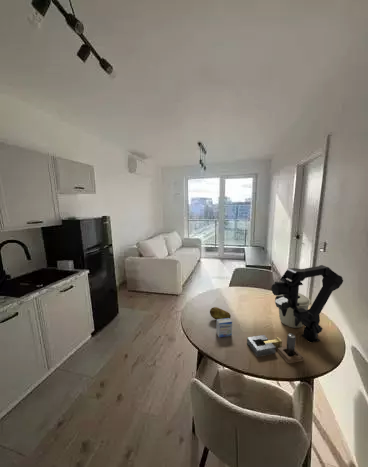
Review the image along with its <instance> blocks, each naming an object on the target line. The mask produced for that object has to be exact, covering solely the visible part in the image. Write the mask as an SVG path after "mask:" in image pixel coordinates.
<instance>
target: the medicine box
mask: <svg viewBox="0 0 368 467" xmlns="http://www.w3.org/2000/svg"><path fill="white" fill-rule="evenodd" d="M215 320H216V319H215ZM215 324H216V327H215V329H216V330H215V333H216V335H217V337H218V338H224V337H230V336H232V334H233V321H232V320H231V317H230V318H225V319H217V320H216V323H215Z"/></svg>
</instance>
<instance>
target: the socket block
mask: <svg viewBox="0 0 368 467" xmlns="http://www.w3.org/2000/svg"><path fill="white" fill-rule="evenodd" d="M268 340H269V339H268V337H267V336H266V335H265V334H261V335H255V336H248V337H246V344H247V345H248V347H249V348H250V350H251V351H252V352H253V354H254V355H255V356H256V357H257V358H258V357H264V356H270V355H274V354H276V350H277V347H275V346H274V345H273V344H272V343H266V344H265V345H263V341H268Z"/></svg>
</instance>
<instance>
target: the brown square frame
mask: <svg viewBox="0 0 368 467" xmlns="http://www.w3.org/2000/svg"><path fill="white" fill-rule="evenodd" d="M286 347H287V346H282V347H277V352H278V354H279V355H280V356H281V357H282V359H284V360H285V362H286V363H287V364H293V363H297V362H303V361H304V355H302V354H301V353H300V352H299V351H298V350H297V349H296V348H295V352H294V356H291V357H289V356H288V355H287V354H286Z"/></svg>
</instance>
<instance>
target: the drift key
mask: <svg viewBox="0 0 368 467" xmlns="http://www.w3.org/2000/svg"><path fill="white" fill-rule="evenodd" d="M266 343H272V344H273V345H274V346H275V347H276V348H281V347H283V340H282V339H281V338H280V337H278V336H276V337H275V339H268V341H263V345H265V344H266Z"/></svg>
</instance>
